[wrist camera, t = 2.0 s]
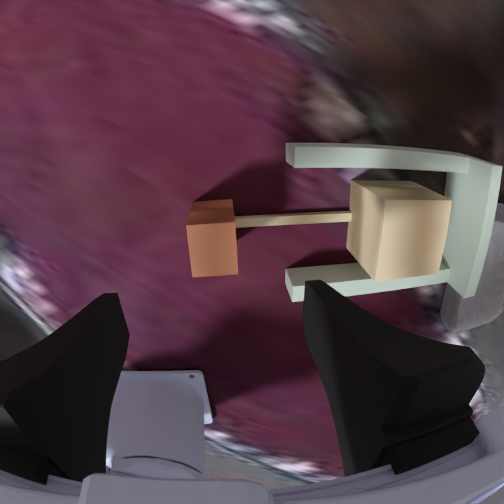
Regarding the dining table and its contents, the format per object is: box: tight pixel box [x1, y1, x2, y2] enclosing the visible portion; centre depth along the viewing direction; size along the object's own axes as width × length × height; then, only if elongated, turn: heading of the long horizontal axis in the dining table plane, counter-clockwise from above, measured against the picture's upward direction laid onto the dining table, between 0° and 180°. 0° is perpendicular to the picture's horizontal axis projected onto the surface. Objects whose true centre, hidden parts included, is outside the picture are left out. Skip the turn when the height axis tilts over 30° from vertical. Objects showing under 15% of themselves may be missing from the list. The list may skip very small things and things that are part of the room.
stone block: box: [440, 203, 504, 332], centre depth 24 cm, size 12×5×10 cm
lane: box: [285, 143, 502, 302], centre depth 19 cm, size 14×10×5 cm
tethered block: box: [186, 180, 452, 282], centre depth 19 cm, size 16×5×5 cm, turn 92°
